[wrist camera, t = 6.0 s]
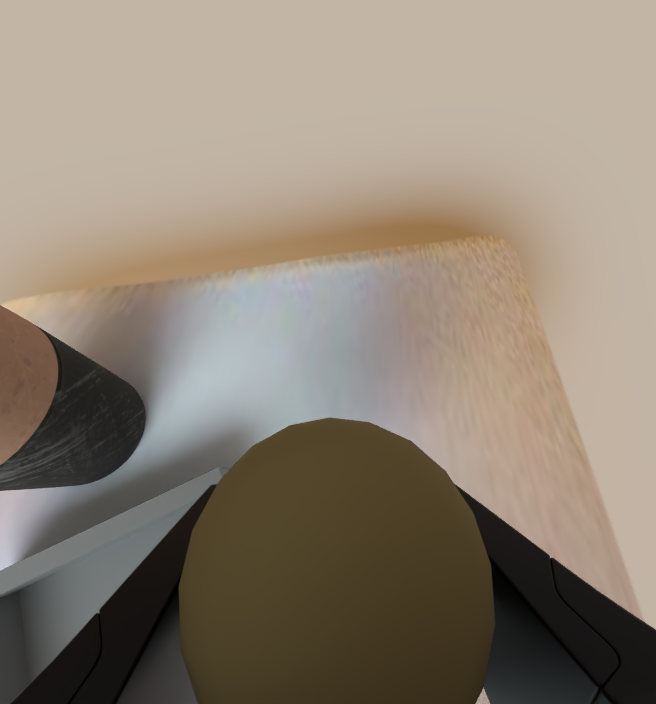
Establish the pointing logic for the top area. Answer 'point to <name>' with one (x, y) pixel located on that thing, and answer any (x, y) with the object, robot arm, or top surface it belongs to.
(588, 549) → the top surface
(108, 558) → the gray square tray
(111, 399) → the travel mug
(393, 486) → the cork
